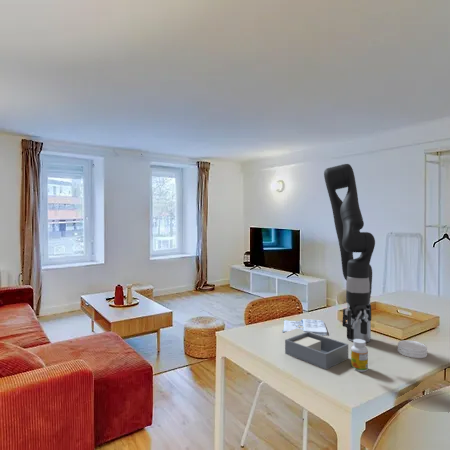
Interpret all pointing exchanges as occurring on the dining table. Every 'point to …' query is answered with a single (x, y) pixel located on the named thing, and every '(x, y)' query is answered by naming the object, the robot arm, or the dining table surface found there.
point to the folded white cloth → (306, 326)
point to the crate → (325, 358)
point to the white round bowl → (412, 349)
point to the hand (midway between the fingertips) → (357, 336)
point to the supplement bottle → (359, 355)
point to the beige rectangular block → (309, 343)
